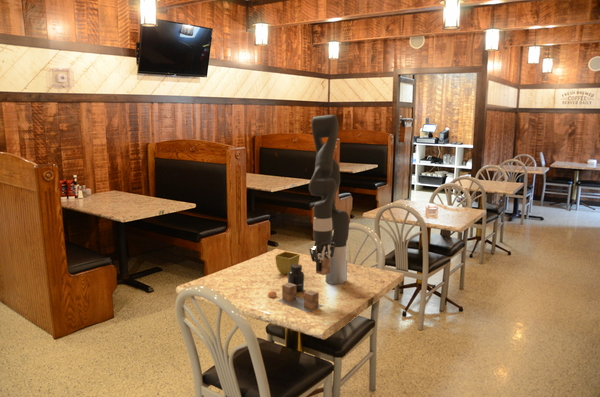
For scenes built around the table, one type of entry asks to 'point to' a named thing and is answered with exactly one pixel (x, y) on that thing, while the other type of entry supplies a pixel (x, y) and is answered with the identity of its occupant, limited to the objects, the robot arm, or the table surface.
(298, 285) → the supplement bottle
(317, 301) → the block
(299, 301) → the slate board
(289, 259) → the flower pot
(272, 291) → the ball
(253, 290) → the table surface
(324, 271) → the loose block
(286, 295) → the block
